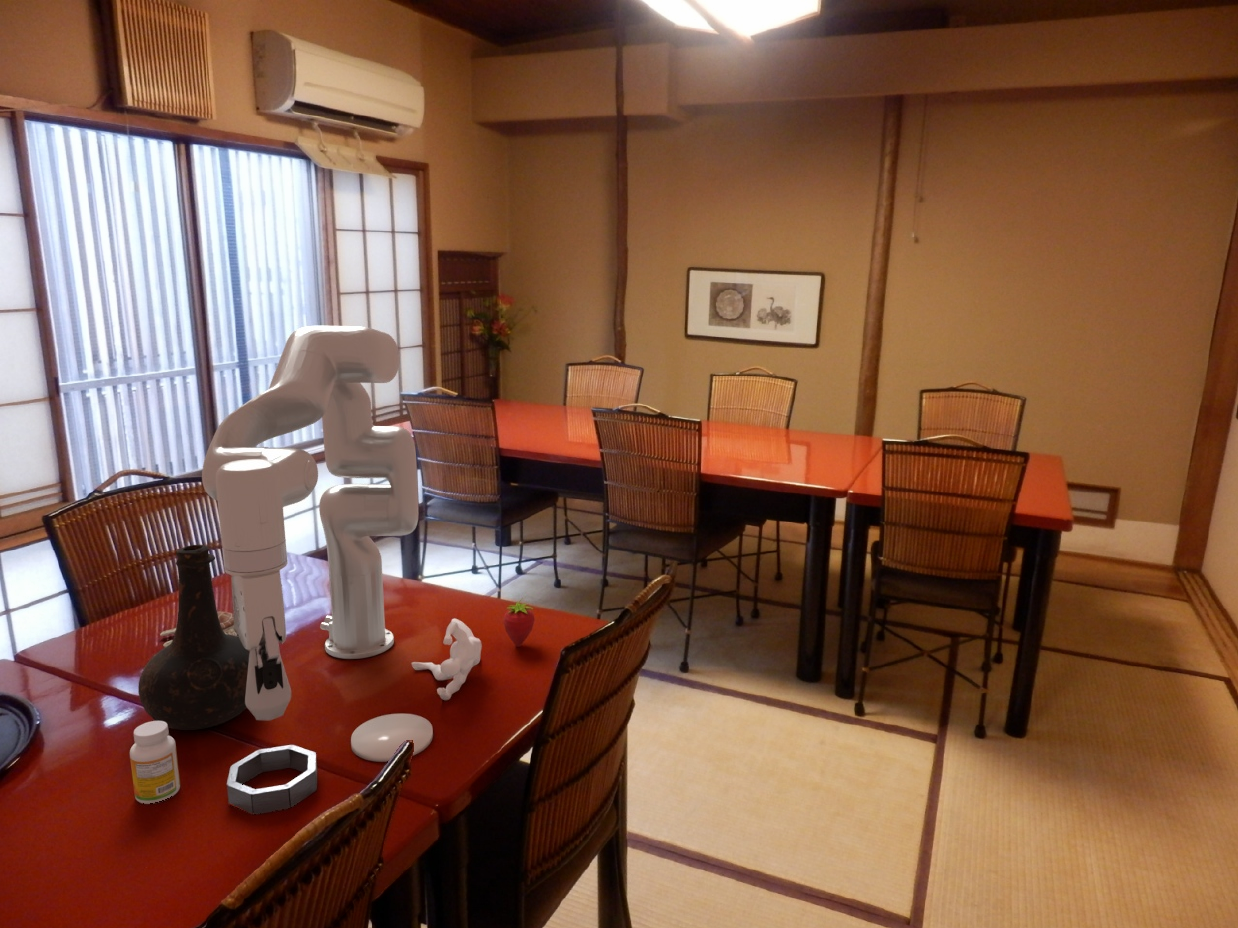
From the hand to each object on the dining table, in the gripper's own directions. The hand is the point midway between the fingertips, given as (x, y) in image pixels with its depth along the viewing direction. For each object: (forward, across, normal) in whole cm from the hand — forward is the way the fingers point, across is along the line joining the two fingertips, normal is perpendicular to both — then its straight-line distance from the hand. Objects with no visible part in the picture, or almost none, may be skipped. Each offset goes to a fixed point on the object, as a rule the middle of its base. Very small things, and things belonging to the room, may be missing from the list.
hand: (267, 684), depth 111 cm
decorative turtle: (+17, -58, 0) cm, 61 cm away
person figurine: (+16, -15, +33) cm, 40 cm away
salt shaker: (+4, 0, 0) cm, 4 cm away
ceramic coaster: (+16, -3, +17) cm, 23 cm away
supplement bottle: (+16, -7, -14) cm, 22 cm away
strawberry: (+16, -22, +49) cm, 56 cm away
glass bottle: (+16, -26, -5) cm, 30 cm away
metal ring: (+15, +1, 0) cm, 15 cm away
